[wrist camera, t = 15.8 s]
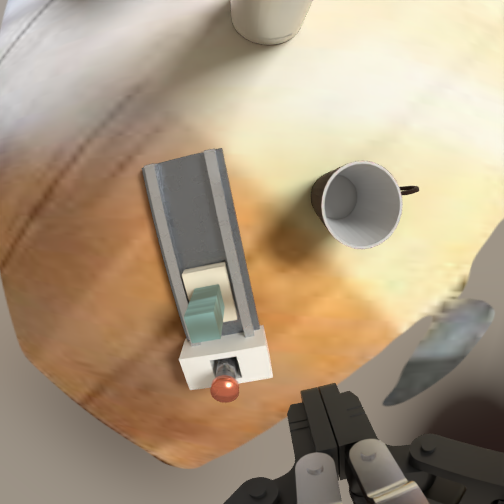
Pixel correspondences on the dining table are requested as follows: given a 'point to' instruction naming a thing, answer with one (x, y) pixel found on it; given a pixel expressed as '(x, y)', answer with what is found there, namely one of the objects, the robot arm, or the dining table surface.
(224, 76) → the dining table surface
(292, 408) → the robot arm
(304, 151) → the dining table surface
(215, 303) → the carriage
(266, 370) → the end cabinet
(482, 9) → the dining table surface
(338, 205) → the coffee mug
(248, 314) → the rail bed
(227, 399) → the gauge plunger
